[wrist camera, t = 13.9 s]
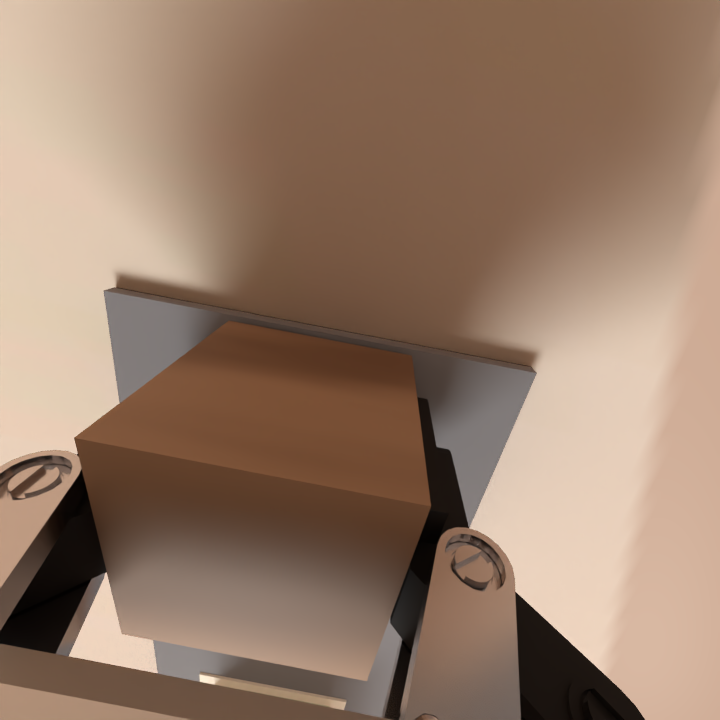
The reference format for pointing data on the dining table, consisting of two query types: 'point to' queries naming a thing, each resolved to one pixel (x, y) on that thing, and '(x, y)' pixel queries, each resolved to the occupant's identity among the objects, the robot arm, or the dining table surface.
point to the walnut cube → (262, 498)
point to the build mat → (451, 430)
